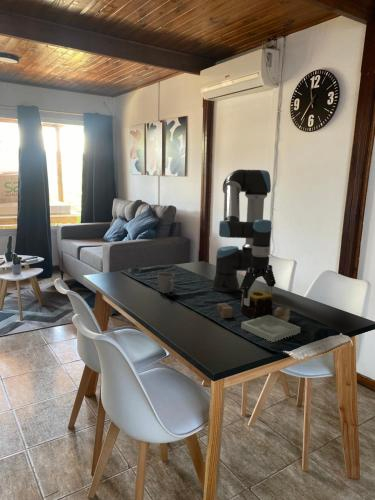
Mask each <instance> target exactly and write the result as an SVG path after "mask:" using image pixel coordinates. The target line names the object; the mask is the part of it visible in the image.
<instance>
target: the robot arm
mask: <svg viewBox="0 0 375 500" xmlns="http://www.w3.org/2000/svg"><path fill="white" fill-rule="evenodd" d="M271 180H272V179H271V176H270V172H269V171H268V170H264V169H236V170H233V171H232V172H231V173H229V174H227V176H226V178H225V179H224V181H223V183H222V192H223V194H224V198H223V200H224V201H223V220H220V221H219V228H218V229H219V231H218V236H219V237H221V238H229V239H230V238H231V239H232V238H233V239H245V242H244V244H243V245H242V248H241V249H240V248H239V246H236V245H227V246H221V247H219V248H218V249H217V250H216V256H215V258H216V259H215V274H214V277H213V281H212V283H211V289H212V288H213V289H212V290H214V291H216V292H220V291H221V293H235V292H238V291H239V290H242V291H243V292H244V295H243V297H244V305H247V306H249V304H250V291H251V290H250V289H251V287H252V286H253V285H254V282H255V281H256V279H258V278H260V277H262V278H263V280H264V281H265V283H266V285H265V291H264V292H265V293H268V294H270V295H272V292H273V287H275V285H276V284H277V281H276V279H275V278H276V277H275V274H274V272H273V265H272V264H270V257H269V255H270V249H271V237H272V229H273V227H272V221H271V220H270V219H264V209H265V199H266V198H267V197H268V194H270V193H271V189H272V186H271V185H272V183H271ZM240 193H244V196H245V197H246V198H247V205H246V206H247V207H246V221H240V216H241V215H240V211H241V210H240ZM238 272H245V274H244V276H243V280H242V282H241V285H240V283H239V279H238Z"/></svg>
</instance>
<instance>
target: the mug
mask: <svg viewBox="0 0 375 500" xmlns="http://www.w3.org/2000/svg"><path fill="white" fill-rule="evenodd" d="M157 285H158V288H159V291H160V293H161V292H162V293H161V294H164V293H168V292H172V291H173V290H174V287H175V273H173V272H166V271H165V272H164V271H163V272H159V273H157ZM168 294H169V293H168Z"/></svg>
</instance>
